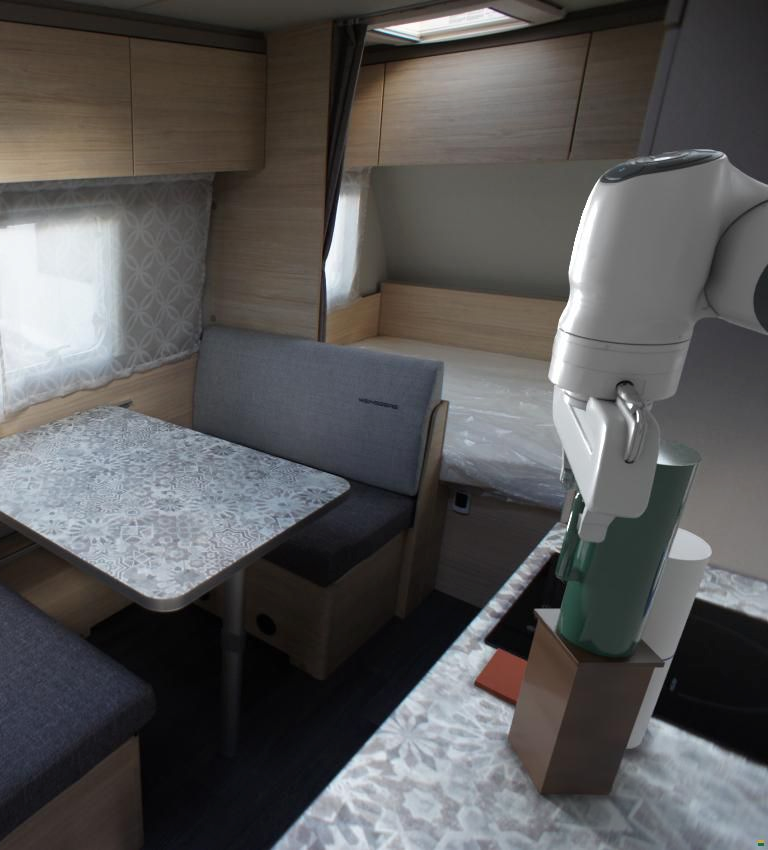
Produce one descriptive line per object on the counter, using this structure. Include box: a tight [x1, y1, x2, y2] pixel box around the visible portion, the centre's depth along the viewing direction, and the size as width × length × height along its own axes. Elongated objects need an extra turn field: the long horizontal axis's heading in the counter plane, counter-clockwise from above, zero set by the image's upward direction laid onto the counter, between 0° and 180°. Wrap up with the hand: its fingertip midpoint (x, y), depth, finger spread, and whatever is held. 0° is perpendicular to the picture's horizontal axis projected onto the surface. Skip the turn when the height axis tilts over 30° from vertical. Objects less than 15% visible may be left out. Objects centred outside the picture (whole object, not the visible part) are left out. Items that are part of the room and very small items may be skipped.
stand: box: [507, 608, 665, 796], centre depth 69 cm, size 8×8×18 cm
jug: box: [554, 436, 703, 658], centre depth 61 cm, size 8×7×20 cm
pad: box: [473, 647, 528, 706], centre depth 83 cm, size 8×7×1 cm
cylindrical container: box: [626, 527, 713, 750], centre depth 72 cm, size 7×7×25 cm
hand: (579, 510), depth 61 cm, fingers open, 8 cm apart
